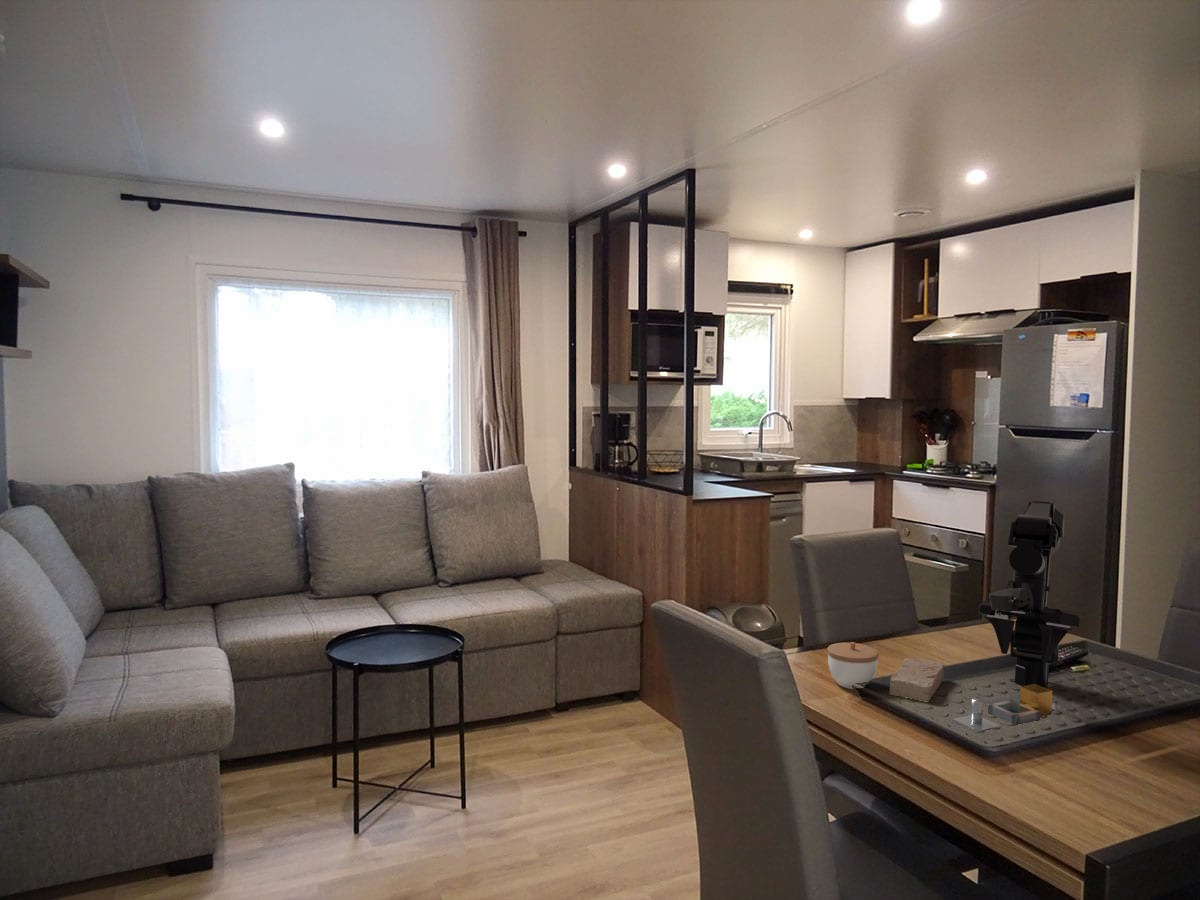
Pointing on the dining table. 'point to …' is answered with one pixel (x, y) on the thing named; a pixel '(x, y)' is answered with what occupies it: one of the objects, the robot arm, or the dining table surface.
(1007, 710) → the grey and orange frame
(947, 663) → the dining table surface
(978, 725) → the metal knob
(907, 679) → the brick
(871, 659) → the lidded jar
